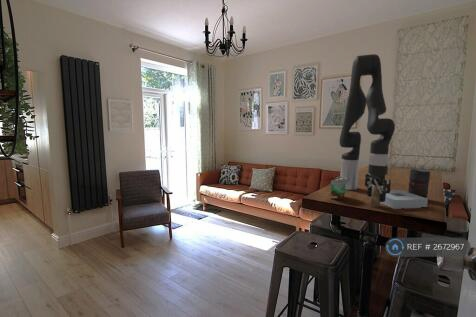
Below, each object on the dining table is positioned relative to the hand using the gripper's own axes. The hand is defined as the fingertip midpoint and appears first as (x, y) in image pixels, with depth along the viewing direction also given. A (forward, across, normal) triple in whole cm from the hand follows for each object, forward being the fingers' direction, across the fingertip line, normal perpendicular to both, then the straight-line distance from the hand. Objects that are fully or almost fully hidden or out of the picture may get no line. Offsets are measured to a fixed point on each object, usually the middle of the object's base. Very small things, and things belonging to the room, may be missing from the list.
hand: (375, 199), depth 112 cm
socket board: (+4, -4, +14) cm, 15 cm away
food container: (+4, -15, -9) cm, 18 cm away
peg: (+4, 0, 0) cm, 4 cm away
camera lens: (+4, -8, +28) cm, 29 cm away
